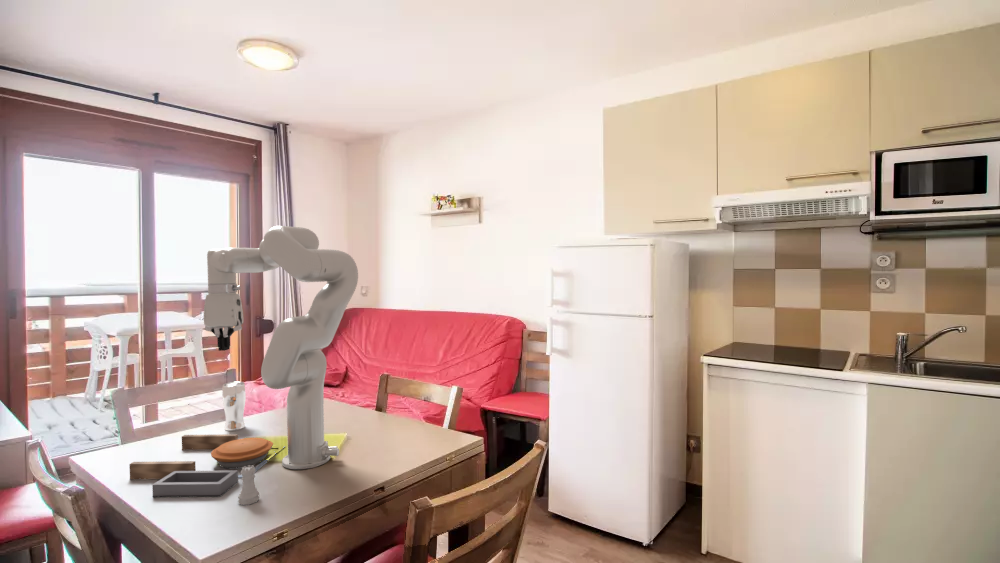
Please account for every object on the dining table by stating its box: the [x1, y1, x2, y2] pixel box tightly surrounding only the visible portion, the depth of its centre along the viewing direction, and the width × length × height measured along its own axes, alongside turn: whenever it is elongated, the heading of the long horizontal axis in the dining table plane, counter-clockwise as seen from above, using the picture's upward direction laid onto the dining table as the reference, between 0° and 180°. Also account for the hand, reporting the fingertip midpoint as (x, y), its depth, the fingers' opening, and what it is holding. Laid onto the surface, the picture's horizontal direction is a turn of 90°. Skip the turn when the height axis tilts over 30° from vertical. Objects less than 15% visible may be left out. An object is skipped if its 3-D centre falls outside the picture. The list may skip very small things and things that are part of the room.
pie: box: [210, 437, 274, 470], centre depth 141 cm, size 15×16×5 cm
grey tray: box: [151, 469, 239, 498], centre depth 123 cm, size 16×8×3 cm, turn 90°
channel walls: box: [129, 433, 239, 480], centre depth 140 cm, size 16×22×4 cm
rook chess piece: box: [237, 465, 260, 506], centre depth 116 cm, size 4×4×8 cm
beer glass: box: [221, 381, 247, 432], centre depth 170 cm, size 7×7×15 cm
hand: (224, 349), depth 154 cm, fingers closed
